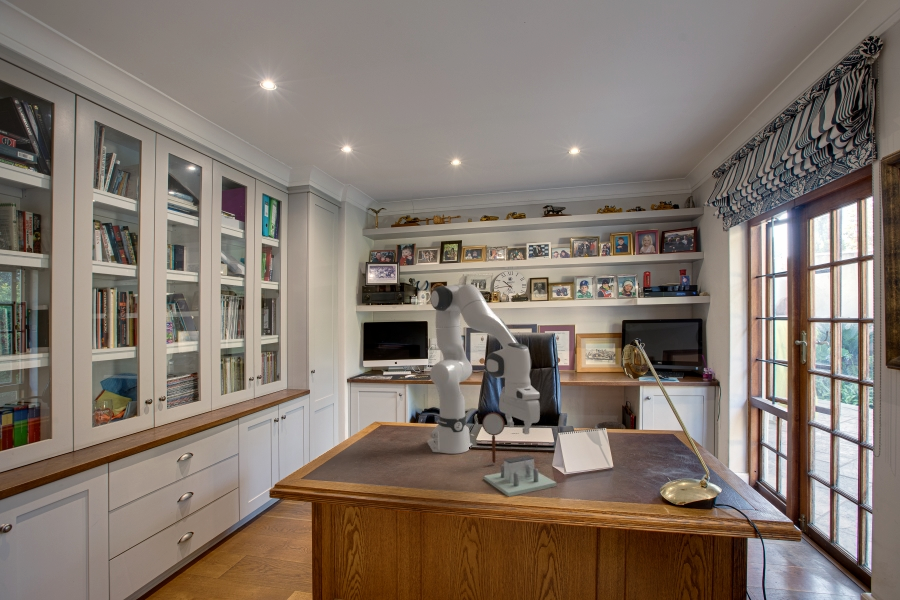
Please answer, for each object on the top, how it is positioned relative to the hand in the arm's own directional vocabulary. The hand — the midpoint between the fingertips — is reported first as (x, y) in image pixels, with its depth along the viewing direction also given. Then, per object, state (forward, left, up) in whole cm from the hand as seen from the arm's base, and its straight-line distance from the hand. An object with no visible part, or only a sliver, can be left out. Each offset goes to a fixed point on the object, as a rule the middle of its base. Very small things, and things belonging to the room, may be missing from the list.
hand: (518, 430), depth 145 cm
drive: (0, 0, -17) cm, 17 cm away
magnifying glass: (-19, +1, -18) cm, 26 cm away
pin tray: (0, 0, -18) cm, 18 cm away
